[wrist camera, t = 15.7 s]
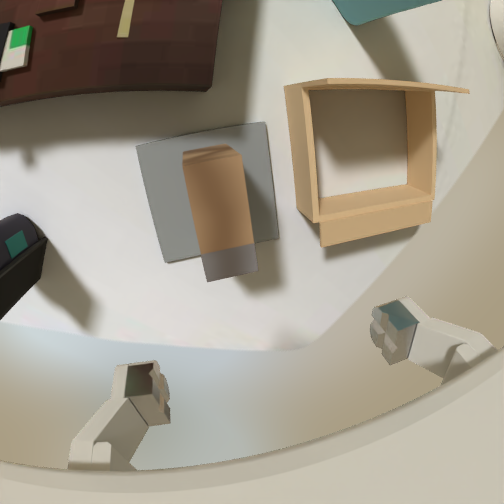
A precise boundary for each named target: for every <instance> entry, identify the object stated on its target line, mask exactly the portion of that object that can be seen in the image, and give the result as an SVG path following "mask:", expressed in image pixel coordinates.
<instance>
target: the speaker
mask: <svg viewBox="0 0 504 504" xmlns="http://www.w3.org/2000/svg"><path fill="white" fill-rule="evenodd" d="M47 239H48V238H46V237H44V238H42V239H41V240H40V241H39V240H38V237H37V234H36V231H35V227H34V226H33V225H32V224H31V223H30V221H29V220H28V219H27V218H26V217H25V216H24V215H21V214H18V213H17V214H14V215H11V216H8V217H6V218H4V219H2V220H0V320H1V319H2V318H3V317H4V316H5V315H6V313H7V312H8V311H9V310H10V309H11V308H12V307H13V306H14V305H15V304H16V303H17V302H18V301H19V300H20V299H21V297H22V296H23V295H24V294H25V293H26V292H27V291H28V290H29V289H30V288H31V287H32V286H33V285H34V284H35V283H36V282H37V281H38V280H39V279H40V278H41V271H42V265H43V260H44V254H45V249H46V244H47Z"/></svg>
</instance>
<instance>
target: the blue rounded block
mask: <svg viewBox="0 0 504 504" xmlns="http://www.w3.org/2000/svg"><path fill="white" fill-rule="evenodd" d="M438 1H441V0H333V2H334V3H335V5H336V6H337V8H338V9H339V11H340V13H341V14H342V16H343V17H344V18H345V19H346V20H347V21H348V22H349V23H351V24H353V25H361V24H364V23H367V22H369V21H372V20H376V19H379V18H382V17H385V16H388V15H392V14H395V13H398V12H402V11H406V10H409V9H413V8H416V7H420V6H423V5H427V4H430V3H434V2H438Z"/></svg>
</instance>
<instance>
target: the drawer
mask: <svg viewBox="0 0 504 504" xmlns="http://www.w3.org/2000/svg"><path fill="white" fill-rule="evenodd" d="M329 89H378V90H401V91H405V99H406V116H407V148H408V168H407V184H406V185H399V186H393V187H386V188H380V189H373V190H367V191H361V192H355V193H349V194H343V195H337V196H331V197H325V198H320V199H318V189H317V174H316V161H315V149H314V138H313V127H312V117H311V108H310V99H309V90H329ZM284 91H285V99H286V107H287V115H288V124H289V133H290V142H291V151H292V161H293V171H294V182H295V193H296V204H297V209H298V210H299V211H301V212H302V213H303V214H304V215H305V216H306V217H307V218H308V219H309V220H310V221H311V222H313V223H317V222H319V225H320V246H321V248H322V247H326V246H331V245H335V244H339V243H344V242H348V241H352V240H357V239H361V238H365V237H370V236H374V235H378V234H382V233H387V232H391V231H395V230H399V229H404V228H408V227H412V226H416V225H420V224H425V223H429V222H431V212H432V201H431V200H434V197H435V181H436V149H437V135H436V103H435V91H447V92H458V93H468V94H469V89H463V88H457V87H451V86H444V85H437V84H429V83H420V82H410V81H399V80H384V79H359V78H326V79H320V80H314V81H308V82H302V83H297V84H292V85H287V86H284Z"/></svg>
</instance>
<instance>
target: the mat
mask: <svg viewBox="0 0 504 504" xmlns="http://www.w3.org/2000/svg"><path fill="white" fill-rule="evenodd" d="M220 144H227V145H229V146H230V147H231V148H233V149H234V150H235V151H237V152H238V153H239V154H241V155H242V161H243V168H244V175H245V182H246V189H247V196H248V203H249V210H250V217H251V224H252V232H253V239H254V243H258V242H263V241H267V240H272V239H277V238H279V236H278V227H277V218H276V208H275V199H274V191H273V182H272V173H271V165H270V157H269V149H268V141H267V133H266V125H265V122H257V123H250V124H243V125H237V126H230V127H224V128H218V129H213V130H207V131H202V132H197V133H192V134H187V135H182V136H177V137H172V138H168V139H164V140H159V141H155V142H151V143H147V144H143V145H139V146H136V150H137V154H138V159H139V164H140V168H141V173H142V177H143V181H144V186H145V190H146V194H147V198H148V202H149V206H150V210H151V214H152V218H153V222H154V225H155V229H156V233H157V237H158V240H159V244H160V247H161V251H162V254H163V258H164V261H165V263H166V262H170V261H175V260H179V259H184V258H189V257H193V256H198V255H201V253H200V248H199V244H198V239H197V235H196V230H195V225H194V221H193V216H192V211H191V207H190V202H189V197H188V192H187V187H186V182H185V177H184V172H183V167H182V159H183V152H184V151H189V150H194V149H199V148H204V147H209V146H215V145H220Z"/></svg>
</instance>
